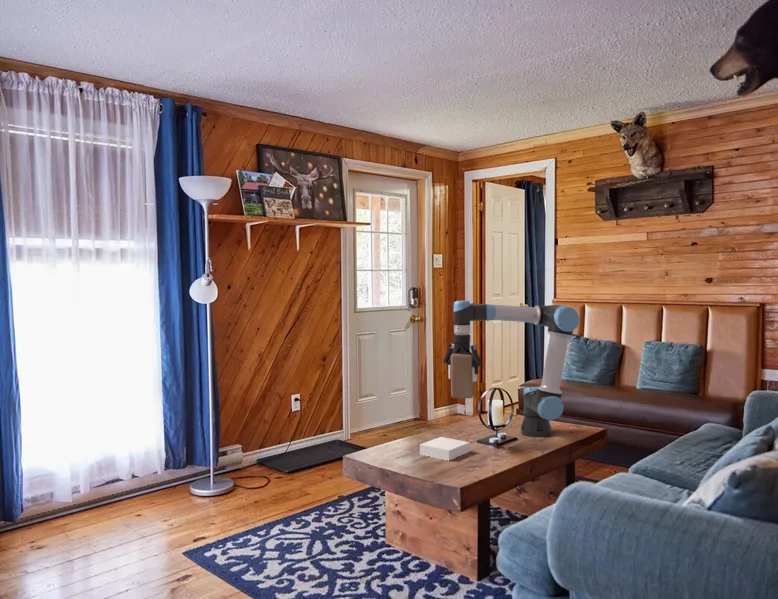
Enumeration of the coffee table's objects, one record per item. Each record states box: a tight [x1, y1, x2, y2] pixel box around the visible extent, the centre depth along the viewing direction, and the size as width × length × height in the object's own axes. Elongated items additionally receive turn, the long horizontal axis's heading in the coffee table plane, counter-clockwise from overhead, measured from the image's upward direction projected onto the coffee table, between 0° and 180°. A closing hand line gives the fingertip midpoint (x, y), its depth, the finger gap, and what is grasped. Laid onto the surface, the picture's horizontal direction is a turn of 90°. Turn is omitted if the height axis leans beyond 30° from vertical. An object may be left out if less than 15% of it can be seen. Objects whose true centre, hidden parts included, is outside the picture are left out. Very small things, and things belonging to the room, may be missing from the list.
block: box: [450, 352, 475, 399], centre depth 284 cm, size 10×10×20 cm
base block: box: [419, 436, 471, 462], centre depth 274 cm, size 16×16×5 cm
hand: (462, 379), depth 284 cm, fingers closed on block, 13 cm apart
